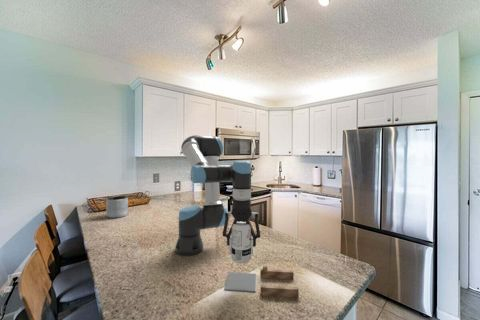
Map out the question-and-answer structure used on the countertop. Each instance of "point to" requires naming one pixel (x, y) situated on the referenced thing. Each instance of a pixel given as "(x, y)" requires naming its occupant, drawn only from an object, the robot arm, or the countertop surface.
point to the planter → (116, 206)
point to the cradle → (278, 290)
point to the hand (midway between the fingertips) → (241, 253)
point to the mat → (240, 282)
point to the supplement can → (241, 242)
